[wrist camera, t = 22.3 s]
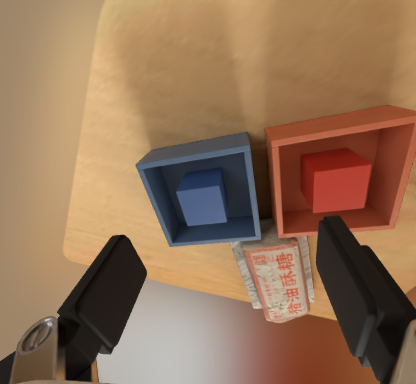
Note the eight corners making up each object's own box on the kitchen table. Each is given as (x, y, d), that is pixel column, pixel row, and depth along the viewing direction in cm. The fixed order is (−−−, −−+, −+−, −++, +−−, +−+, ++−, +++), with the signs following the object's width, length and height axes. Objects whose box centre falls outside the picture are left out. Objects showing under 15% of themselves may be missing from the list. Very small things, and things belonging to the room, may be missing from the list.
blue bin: (151, 149, 24) (134, 164, 20) (247, 131, 22) (249, 144, 18) (178, 224, 29) (169, 247, 25) (257, 215, 27) (261, 239, 23)
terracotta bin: (264, 128, 21) (271, 140, 17) (388, 104, 19) (427, 112, 15) (272, 214, 27) (278, 238, 23) (369, 204, 24) (394, 229, 20)
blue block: (185, 172, 24) (175, 191, 21) (221, 167, 24) (219, 185, 20) (194, 203, 27) (187, 226, 23) (228, 199, 26) (227, 222, 22)
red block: (300, 154, 22) (314, 172, 18) (347, 147, 21) (372, 163, 17) (300, 190, 24) (312, 213, 20) (342, 185, 23) (364, 208, 19)
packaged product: (223, 250, 24) (314, 236, 21) (224, 223, 28) (301, 209, 25) (254, 330, 32) (323, 327, 30) (252, 300, 36) (312, 295, 34)
